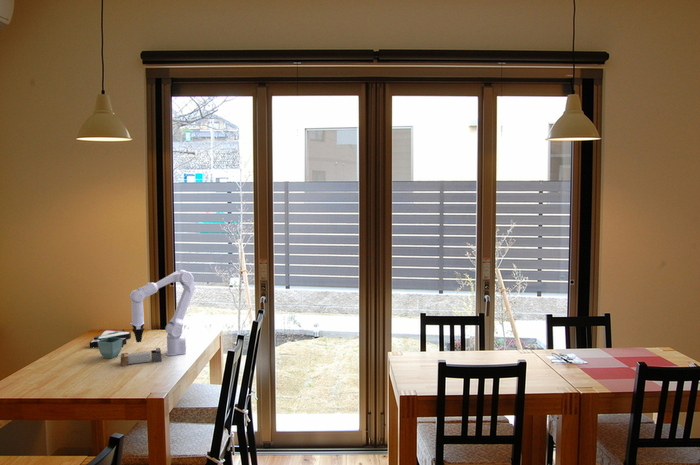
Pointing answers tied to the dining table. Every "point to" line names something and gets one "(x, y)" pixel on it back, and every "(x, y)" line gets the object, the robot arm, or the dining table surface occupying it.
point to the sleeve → (156, 355)
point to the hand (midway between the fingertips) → (138, 340)
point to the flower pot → (110, 347)
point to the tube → (138, 357)
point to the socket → (124, 359)
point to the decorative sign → (112, 334)
